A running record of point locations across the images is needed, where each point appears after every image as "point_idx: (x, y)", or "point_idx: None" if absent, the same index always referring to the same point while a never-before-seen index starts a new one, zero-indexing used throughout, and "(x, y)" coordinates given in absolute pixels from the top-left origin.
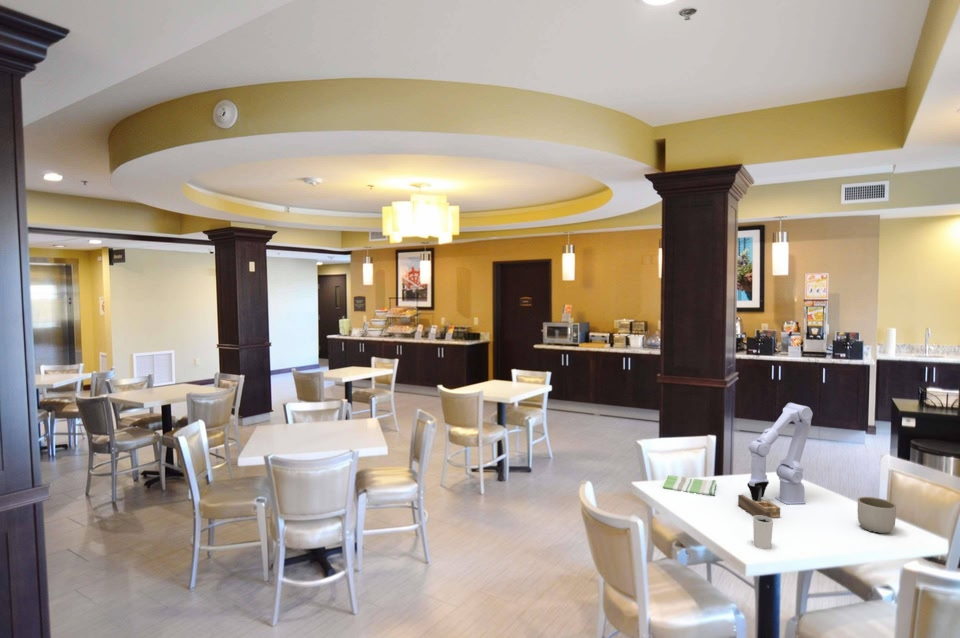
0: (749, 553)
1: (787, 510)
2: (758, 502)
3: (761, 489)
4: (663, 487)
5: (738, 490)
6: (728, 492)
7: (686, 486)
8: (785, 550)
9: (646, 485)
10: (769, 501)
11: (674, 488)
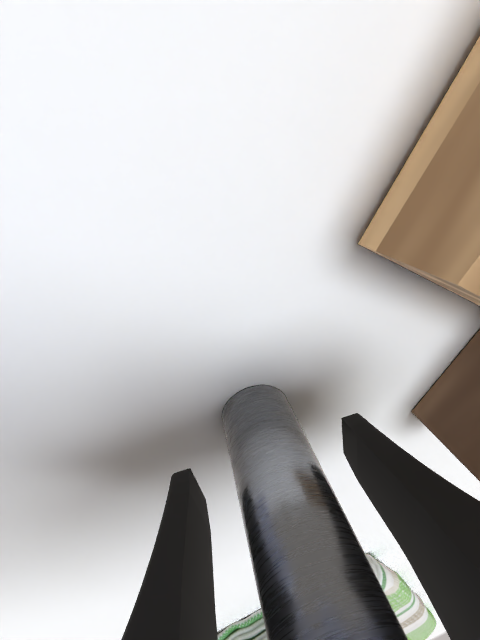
0: None
1: (101, 91)
2: None
3: (313, 597)
4: (434, 618)
5: (124, 608)
6: (228, 585)
7: None
8: None
9: (440, 627)
10: (475, 261)
11: (425, 612)
